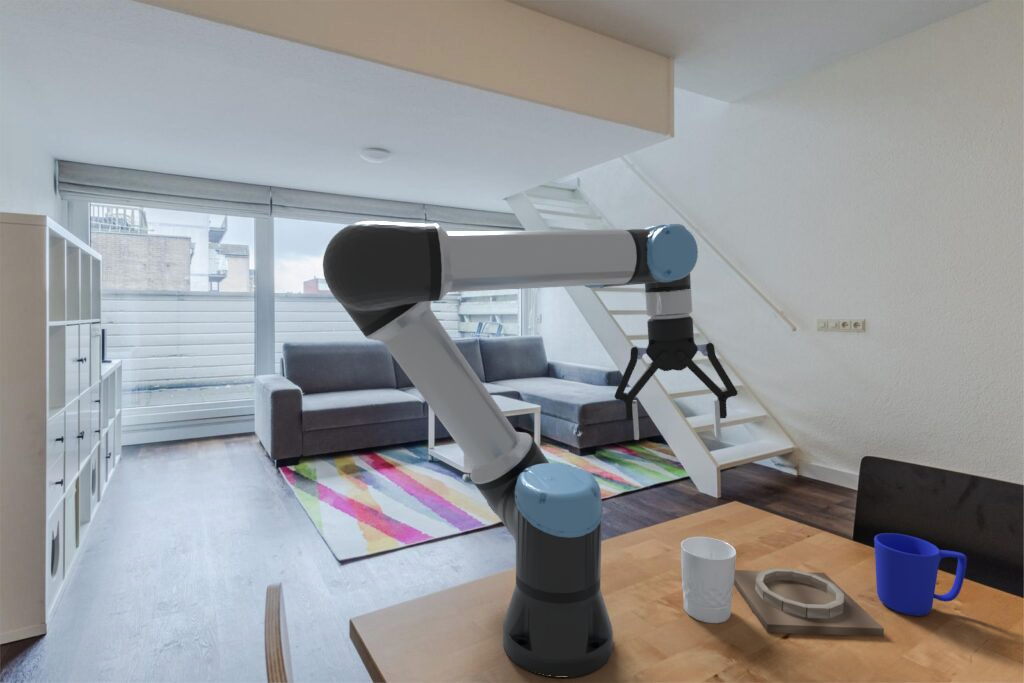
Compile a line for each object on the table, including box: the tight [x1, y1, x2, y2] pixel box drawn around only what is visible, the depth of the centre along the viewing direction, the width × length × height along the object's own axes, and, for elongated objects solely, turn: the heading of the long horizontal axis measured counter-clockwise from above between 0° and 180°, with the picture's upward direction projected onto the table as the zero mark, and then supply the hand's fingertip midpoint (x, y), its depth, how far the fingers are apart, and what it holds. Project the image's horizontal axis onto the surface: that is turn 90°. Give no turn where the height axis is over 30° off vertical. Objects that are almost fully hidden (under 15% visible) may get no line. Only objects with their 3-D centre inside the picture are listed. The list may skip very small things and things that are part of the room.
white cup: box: [680, 536, 737, 624], centre depth 81 cm, size 8×8×10 cm
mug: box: [873, 532, 968, 617], centre depth 82 cm, size 8×12×10 cm
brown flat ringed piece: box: [734, 567, 885, 638], centre depth 83 cm, size 16×16×3 cm
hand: (676, 437), depth 93 cm, fingers open, 13 cm apart
